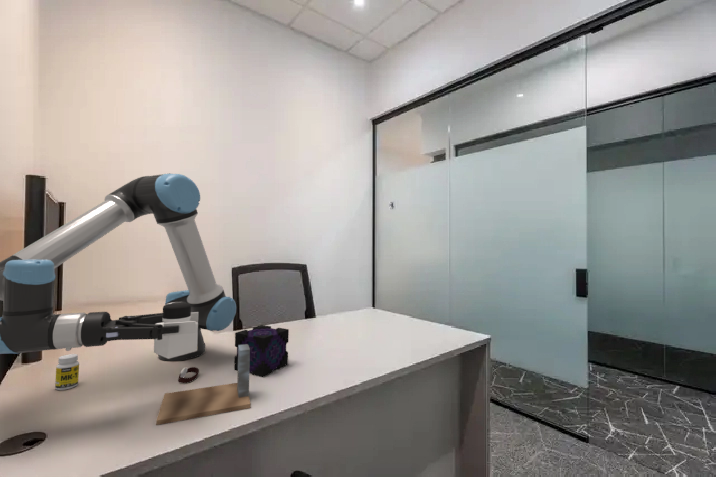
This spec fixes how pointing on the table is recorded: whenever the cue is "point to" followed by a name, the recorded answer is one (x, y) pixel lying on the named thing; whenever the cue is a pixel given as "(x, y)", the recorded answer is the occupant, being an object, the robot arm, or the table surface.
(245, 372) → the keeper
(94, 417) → the table surface
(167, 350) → the medicine bottle
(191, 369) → the watch
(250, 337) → the energy cube
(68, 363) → the supplement bottle
